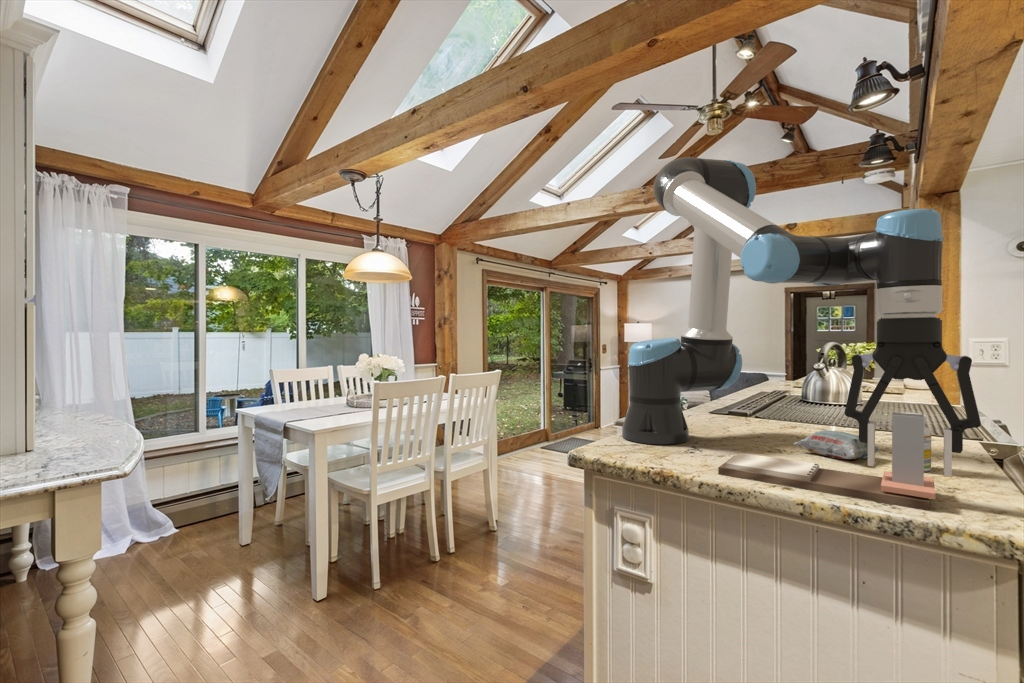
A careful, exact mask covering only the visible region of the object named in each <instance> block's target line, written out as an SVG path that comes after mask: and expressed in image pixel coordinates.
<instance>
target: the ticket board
mask: <svg viewBox="0 0 1024 683" xmlns="http://www.w3.org/2000/svg"><path fill="white" fill-rule="evenodd" d="M717 470H718V473H717V474H718V475H720V476H721V475H722V476H727V477H733V478H740V479H745V480H751V481H755V482H762V483H768V484H774V485H780V486H786V487H791V488H795V489H803V490H808V491H813V492H820V493H826V494H831V495H836V496H837V495H838V496H842V497H848V498H854V499H861V500H866V501H871V502H877V503H881V504H882V503H884V504H889V505H895V506H900V507H901V506H902V507H906V508H912V509H917V510H918V509H919V510H922V511H923V510H924V511H930V499H929V498H923V497H917V496H910V495H904V494H898V493H892V492H886V491H881V482H882V478H883V476H875V475H869V474H864V473H863V474H862V473H858V472H857V473H856V472H850V471H842V470H835V469H830V468H824V467H823V468H821V467H820V464H819V463H814V462H806V461H801V460H800V461H799V460H794V459H793V460H792V459H786V458H779V457H772V456H766V455H765V456H764V455H756V454H751V453H743V452H738V453H737V454H736V455H733V457H731V458H729V459H728V460H726V461H725V462H724V463H722V464H721V465H720V466H718V467H717Z"/></svg>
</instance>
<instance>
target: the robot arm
mask: <svg viewBox="0 0 1024 683" xmlns="http://www.w3.org/2000/svg"><path fill="white" fill-rule="evenodd" d="M653 182H654V183H653V196H654V199H655V201H656V202H657V204H658V205H659V206H660V208H662V209H663V210H664V211H666V212H667V213H668V214H670V215H671V216H675V217H683V218H684V219H686V220H687V221H688V223H689V224H690V225H691V226H692V227H693V229H694V230H693V244H692V258H691V259H692V260H691V261H692V263H691V276H690V277H691V279H690V293H689V294H690V295H689V310H688V323H687V324H688V325H687V328H686V330H684V331H683V332H682V333H681V334H680V335H681V336H680V339H679V338H678V337H664V338H655V339H646V340H642V341H637V342H634V343H633V344H631V346H630V347H629V350H628V351H629V353H628V361H627V362H628V378H629V379H628V381H629V382H628V384H629V388H628V390H629V392H628V395H629V398H628V399H629V404H628V405H629V406H628V408H627V411H626V415H625V418H624V421H623V424H622V428H621V432H622V435H621V436H622V438H624V439H625V440H628V441H630V442H635V443H640V444H648V445H677V444H683V443H686V442H688V441H689V439H690V431H689V428H688V427H689V426H688V424H687V421H686V418H685V416H684V413H683V410H682V407H681V406H682V405H681V397H682V396H681V394H682V393H687V392H688V393H689V392H703V391H704V392H706V391H707V392H714V391H719V390H725V389H728V388H730V387H731V386H733V384H735V383H736V382H737V381H738V379H739V378H740V375H741V372H742V368H743V358H742V354H741V353H740V349H739V348H738V346H736V344H734V343H733V340H734V339H733V337H734V336H732V335H731V334H730V333H729V331H728V330H727V326H728V324H727V323H728V313H729V312H728V311H729V298H730V295H729V294H730V284H731V283H730V282H731V273H732V272H731V269H732V258H733V257H732V254H734V255H736V257H738V258H740V267H741V268H742V269H743V273H744V275H745V276H746V277H747V278H748V279H750V280H751V281H755V282H763V283H766V284H779V283H780V284H781V283H782V284H783V283H784V284H786V283H787V284H789V283H790V284H791V283H792V284H793V283H795V284H796V283H798V284H805V283H806V284H813V285H815V286H820V287H823V286H824V287H825V286H826V287H828V286H829V287H830V286H833V287H835V286H837V287H838V286H840V285H845V284H850V283H851V284H853V283H861V282H868V281H876V314H877V315H878V316H881V317H880V318H879V319H877V321H876V346H875V349H874V350H873V352H871V353H864V354H859V353H856V354H853V355H852V357H851V363H852V367H853V372H852V375H851V376H852V378H851V381H850V386H849V390H848V395H847V398H846V399H847V400H846V403H845V404H846V405H845V409H844V416H846V417H847V418H851V419H854V420H855V421H857V423H858V436H859V440H860V442H863V443H868V457H867V467H868V466H869V467H875V464H876V453H875V445H876V421H875V420H873V421H872V420H870V418H871V415H872V414H873V412H874V410H875V409H876V407H877V405H878V404H879V403H880V400H881V399H882V397H883V395H884V393H885V392H886V390H887V389H888V386H889V385H890V383H891V381H892V380H893V379H894V380H905V379H909V380H913V381H922V380H924V382H925V383H926V385H927V386H928V388H929V391H930V392H931V394H932V396H933V397H934V399H935V401H936V403H937V404H938V406H939V408H940V409H941V411H942V414H943V415H944V417H945V418H946V420H947V422H948V424H949V426H950V427H943V475H944V477H950V478H952V474H953V473H952V470H953V469H952V467H953V466H952V464H953V460H952V459H953V457H952V455H953V454H954V453H955V454H962V452H963V449H964V446H963V444H964V437H963V436H964V434H963V433H964V432H965V430H966V431H967V429H968V430H969V429H974V428H975V429H978V428H981V425H982V422H981V417H980V413H979V409H978V404H977V401H976V397H975V393H974V388H973V384H972V381H971V377H970V371H971V368H972V367H971V366H972V363H973V359H972V358H971V357H969V356H968V355H953V354H948V353H947V352H946V351H945V349H944V348H943V319H941V317H937V316H938V314H941V313H942V312H943V279H942V273H943V272H942V271H943V270H942V268H943V266H942V265H943V264H942V263H943V246H944V245H943V242H944V241H945V240H944V239H945V237H943V225H942V216H941V213H940V212H939V211H938V210H935V209H933V208H914V209H913V208H911V209H904V210H898V211H893V212H890V213H886V214H884V215H881V216H880V217H878V218H877V221H876V227H875V228H874V230H875V231H873V232H871V233H866V234H859V235H855V236H851V237H849V236H848V237H827V236H826V237H825V236H808V235H797V234H793V233H792V232H790V231H788V230H786V229H784V228H782V227H780V226H778V224H775V223H774V222H773V221H770V220H769V219H767V218H766V217H764V216H762V215H761V214H759V213H757V212H756V211H754V210H752V209H750V208H751V205H752V204H751V203H753V202H754V200H755V196H756V190H757V183H756V178H755V174H754V173H753V171H752V170H751V168H749V167H748V165H746V164H744V163H742V162H739V161H738V162H736V161H733V160H730V159H725V160H724V159H714V158H713V159H711V158H701V157H700V158H699V157H693V156H685V157H678V158H676V159H673V160H671V161H669V162H667V164H665V165H664V166H663V167H662V168H661V169H660V170H659V171H658V173H657V174H656V177H655V179H654V181H653ZM871 361H875V363H876V364H877V365H878V366H879V367H880V368H881V370H883V374H882V376H881V378H880V379H879V381H878V383H877V384H876V387H875V388H874V389H873V392H872V393H871V394H870V397H869V399H868V400H867V402H866V404H865V405H864V407H863V409H862V411H860V410H859V409H857V406H858V402H859V398H860V393H861V388H862V383H863V380H864V375H865V369H866V368H868V367H870V365H871ZM945 362H947V363H949V367H950V369H951V370H953V371H956V377H957V378H956V379H957V382H958V386H959V390H960V391H959V392H960V395H961V398H962V403H963V408H964V412H965V416H966V418H959V416H958V414H957V413H956V411H955V409H954V407H953V405H952V404H951V402H950V401H949V399H948V397H947V396H946V393H945V391H943V390H944V389H943V388H942V387H941V385H940V383H939V380H937V378H936V376H935V375H934V373H935V372H936V371H937V370H938V368H940V367H941V366H942V365H943V364H944V363H945Z"/></svg>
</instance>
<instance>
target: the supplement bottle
mask: <svg viewBox="0 0 1024 683" xmlns="http://www.w3.org/2000/svg"><path fill="white" fill-rule="evenodd" d="M907 413H908V414H918V412H917V413H915V412H907ZM920 414H921V415H924V473H925V472H926V473H927V472H930V471H931V470H932V431H931V429H930V428H929V427H927V426H926V424H927V415H925V414H923V413H920Z"/></svg>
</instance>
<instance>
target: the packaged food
mask: <svg viewBox="0 0 1024 683" xmlns="http://www.w3.org/2000/svg"><path fill="white" fill-rule="evenodd" d="M793 445H796V446H800V447H802V448H804V449H805V450H806V451H808V452H809V453H814V454H816V455H817V454H818V455H821V456H825V457H828V458H833V459H839V460H858V459H864V458H868V443H863V442H860V440H859V434H858V435H857V434H853V433H849V432H845V431H840V430H839V431H837V430H825V429H824V430H819V431H816V432H814V433H812V434H809V435H808V436H806V437H805V438H802V439H801V440H799V441H795V442H794V443H793ZM878 452H881V448H879V447H878V446H877V445H876V444H875V454H876V453H878Z"/></svg>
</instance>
